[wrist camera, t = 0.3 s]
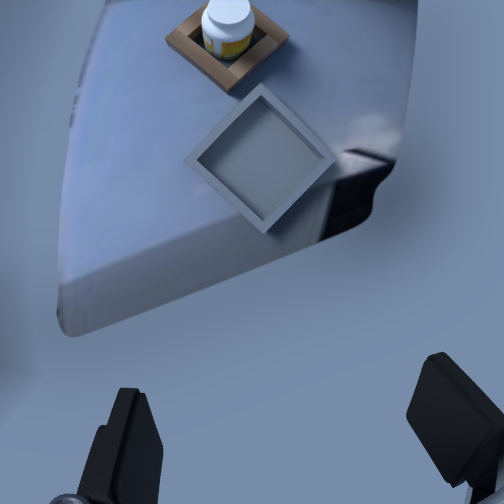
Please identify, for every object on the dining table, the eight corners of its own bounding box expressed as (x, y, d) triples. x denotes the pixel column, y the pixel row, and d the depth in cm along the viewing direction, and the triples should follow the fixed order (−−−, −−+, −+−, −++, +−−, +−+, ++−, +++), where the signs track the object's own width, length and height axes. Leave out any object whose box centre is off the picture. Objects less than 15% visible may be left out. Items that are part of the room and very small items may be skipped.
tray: (257, 88, 33) (260, 82, 30) (328, 158, 36) (337, 158, 34) (186, 160, 35) (183, 160, 32) (260, 228, 38) (263, 234, 35)
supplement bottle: (256, 32, 31) (267, -3, 22) (238, 67, 32) (244, 38, 23) (215, 18, 30) (215, -21, 21) (196, 52, 31) (189, 20, 22)
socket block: (226, -4, 29) (227, -13, 27) (285, 42, 32) (289, 35, 29) (167, 45, 30) (164, 38, 28) (227, 94, 33) (227, 89, 31)
